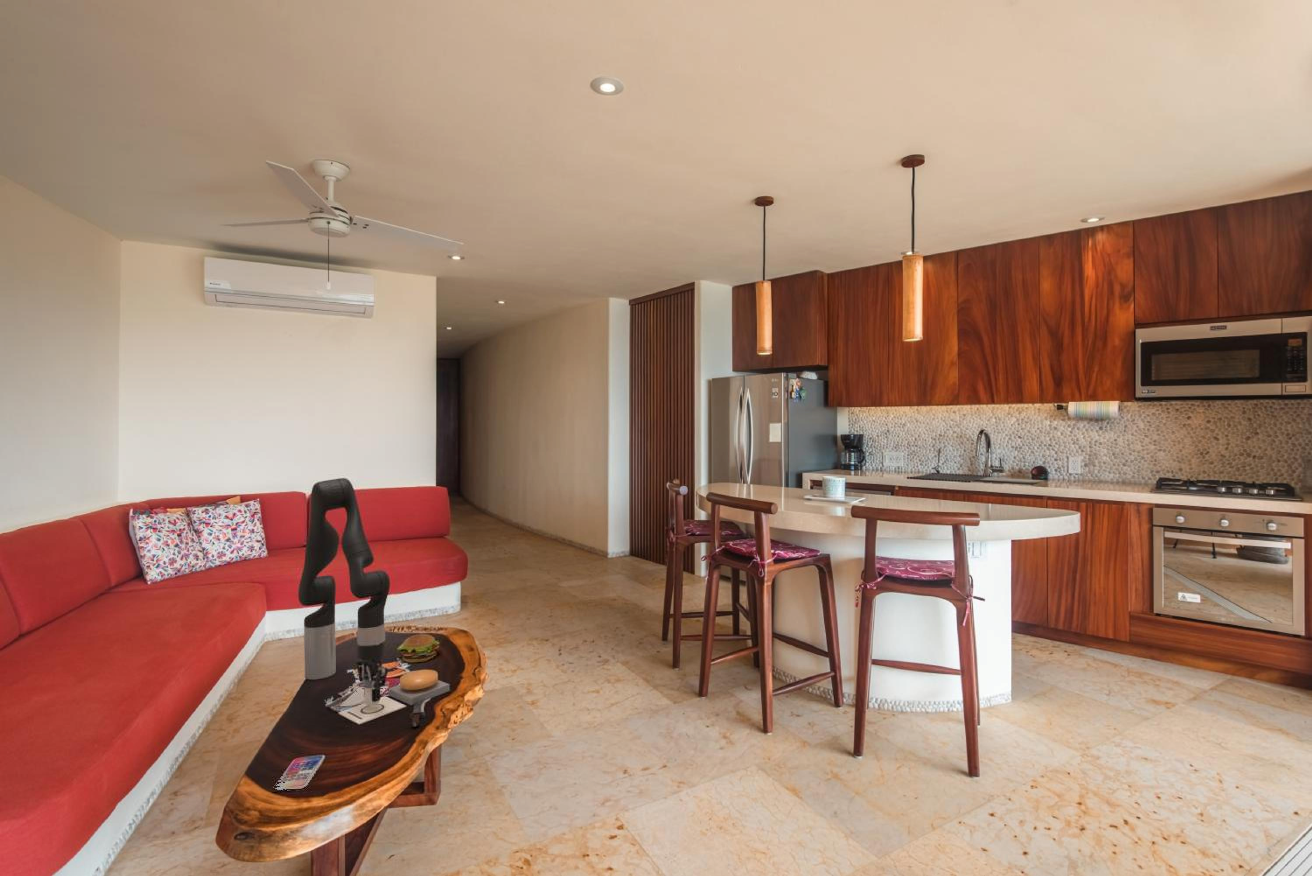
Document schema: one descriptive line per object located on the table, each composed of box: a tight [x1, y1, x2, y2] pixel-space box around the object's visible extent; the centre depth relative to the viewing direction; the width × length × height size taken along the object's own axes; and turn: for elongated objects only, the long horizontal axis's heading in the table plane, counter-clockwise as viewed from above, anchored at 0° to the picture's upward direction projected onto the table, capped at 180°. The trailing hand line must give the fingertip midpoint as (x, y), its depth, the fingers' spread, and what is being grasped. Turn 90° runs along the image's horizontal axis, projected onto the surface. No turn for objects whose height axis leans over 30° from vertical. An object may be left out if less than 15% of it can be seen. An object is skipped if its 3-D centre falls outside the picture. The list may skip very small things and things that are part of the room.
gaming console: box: [336, 681, 391, 712], centre depth 190 cm, size 22×1×10 cm
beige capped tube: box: [364, 675, 380, 706], centre depth 180 cm, size 4×4×7 cm
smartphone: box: [275, 754, 326, 790], centre depth 145 cm, size 7×1×15 cm
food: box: [397, 633, 441, 663], centre depth 224 cm, size 14×14×8 cm
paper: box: [337, 695, 407, 725], centre depth 180 cm, size 12×14×1 cm
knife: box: [410, 698, 432, 728], centre depth 180 cm, size 26×2×5 cm
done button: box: [399, 669, 439, 690], centre depth 192 cm, size 11×11×2 cm
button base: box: [387, 679, 451, 706], centre depth 192 cm, size 13×13×2 cm
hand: (372, 698), depth 180 cm, fingers closed on beige capped tube, 4 cm apart
